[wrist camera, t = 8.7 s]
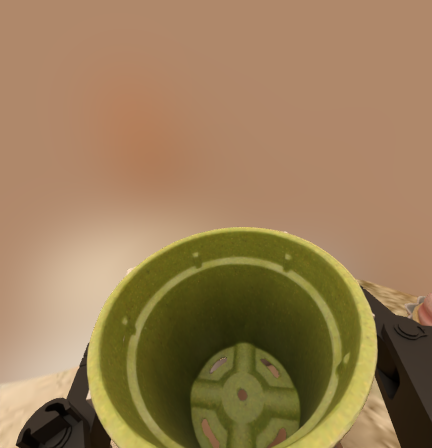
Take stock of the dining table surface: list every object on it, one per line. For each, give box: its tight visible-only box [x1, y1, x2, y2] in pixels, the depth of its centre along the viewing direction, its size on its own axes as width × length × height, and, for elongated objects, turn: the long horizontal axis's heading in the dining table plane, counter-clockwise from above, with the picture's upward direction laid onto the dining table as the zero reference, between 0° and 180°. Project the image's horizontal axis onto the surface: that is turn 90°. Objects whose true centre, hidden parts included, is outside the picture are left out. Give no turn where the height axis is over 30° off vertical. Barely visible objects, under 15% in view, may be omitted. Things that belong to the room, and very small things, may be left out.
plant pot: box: [87, 227, 378, 448], centre depth 10 cm, size 9×9×9 cm
